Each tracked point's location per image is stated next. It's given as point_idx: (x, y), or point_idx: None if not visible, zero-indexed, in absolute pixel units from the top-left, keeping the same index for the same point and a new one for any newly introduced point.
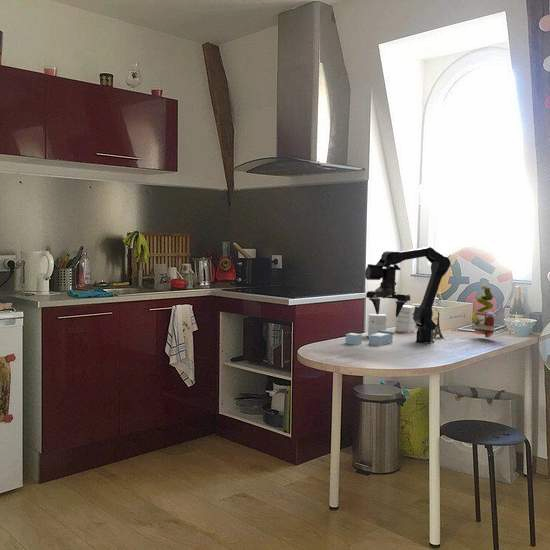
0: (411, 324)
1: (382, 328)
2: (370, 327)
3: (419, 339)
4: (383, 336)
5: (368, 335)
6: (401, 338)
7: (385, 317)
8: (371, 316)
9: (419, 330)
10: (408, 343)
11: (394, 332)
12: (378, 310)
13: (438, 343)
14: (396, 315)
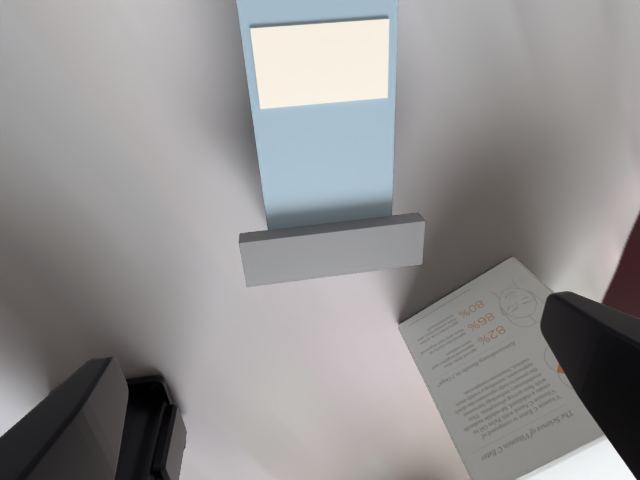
0: None
1: (450, 364)
2: None
3: (137, 404)
4: (241, 28)
5: (523, 266)
6: (315, 399)
7: (480, 474)
8: None
9: (126, 475)
10: (150, 289)
11: (245, 272)
12: (599, 387)
13: None
14: (83, 374)
